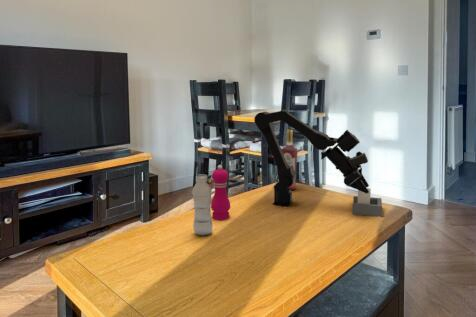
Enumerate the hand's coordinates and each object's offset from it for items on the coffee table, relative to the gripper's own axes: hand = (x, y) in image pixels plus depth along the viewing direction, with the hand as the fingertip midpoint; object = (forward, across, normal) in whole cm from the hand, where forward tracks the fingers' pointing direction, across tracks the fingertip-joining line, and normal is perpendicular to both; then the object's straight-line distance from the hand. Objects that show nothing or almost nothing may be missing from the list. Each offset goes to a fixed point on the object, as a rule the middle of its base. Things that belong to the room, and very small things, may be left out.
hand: (368, 189), depth 151 cm
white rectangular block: (+5, 0, +7) cm, 9 cm away
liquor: (-18, +22, +31) cm, 42 cm away
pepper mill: (-30, -23, +43) cm, 57 cm away
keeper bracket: (+6, 0, +6) cm, 9 cm away
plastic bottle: (-30, -40, +43) cm, 66 cm away
